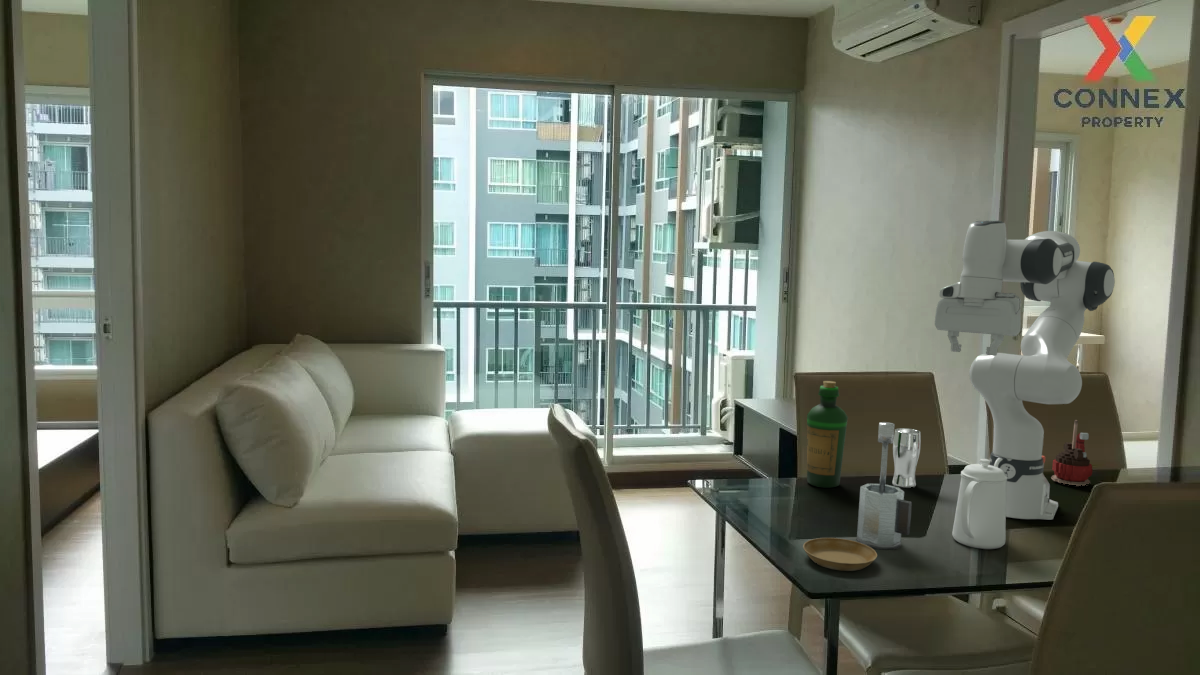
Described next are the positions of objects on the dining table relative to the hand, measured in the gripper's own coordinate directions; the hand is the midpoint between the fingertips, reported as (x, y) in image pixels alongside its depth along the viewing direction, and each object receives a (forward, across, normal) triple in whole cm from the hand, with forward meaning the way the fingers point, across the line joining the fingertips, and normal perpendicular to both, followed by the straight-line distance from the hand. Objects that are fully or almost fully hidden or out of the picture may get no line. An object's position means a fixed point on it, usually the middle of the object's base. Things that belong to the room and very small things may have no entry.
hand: (973, 353), depth 200 cm
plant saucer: (+46, 0, +34) cm, 57 cm away
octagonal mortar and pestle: (+43, +4, +19) cm, 47 cm away
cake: (+34, +18, -70) cm, 80 cm away
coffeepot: (+42, -4, -3) cm, 42 cm away
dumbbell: (+34, +4, +20) cm, 39 cm away
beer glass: (+38, +36, -23) cm, 57 cm away
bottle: (+39, +45, -3) cm, 60 cm away
